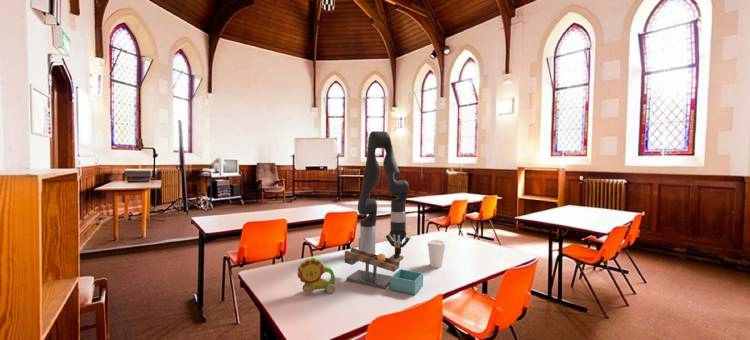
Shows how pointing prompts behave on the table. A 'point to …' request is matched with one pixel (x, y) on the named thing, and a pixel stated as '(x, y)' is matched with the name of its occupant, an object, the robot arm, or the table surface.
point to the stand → (370, 278)
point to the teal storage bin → (407, 282)
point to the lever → (372, 259)
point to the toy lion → (315, 276)
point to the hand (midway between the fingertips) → (397, 254)
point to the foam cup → (436, 252)
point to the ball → (381, 257)
